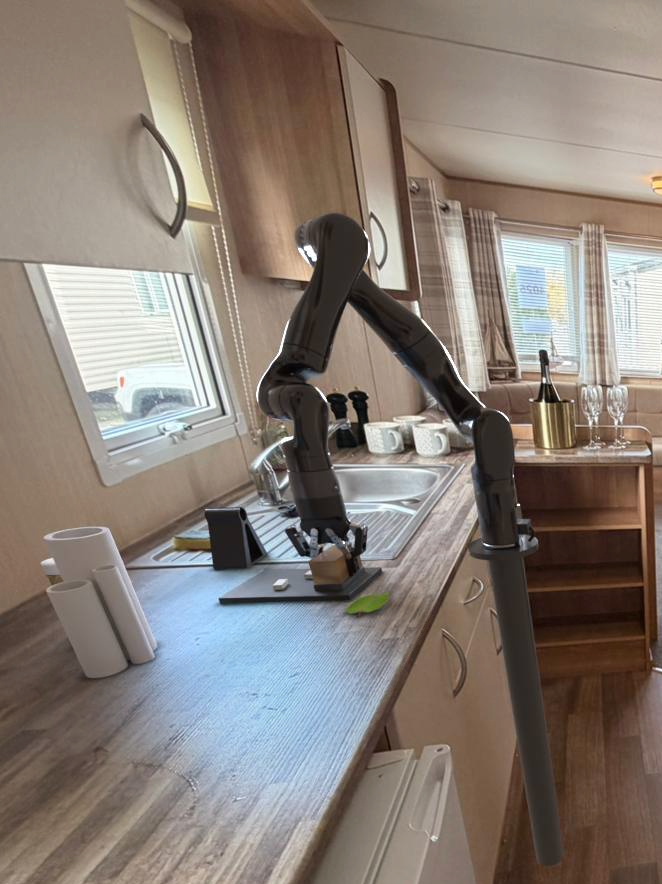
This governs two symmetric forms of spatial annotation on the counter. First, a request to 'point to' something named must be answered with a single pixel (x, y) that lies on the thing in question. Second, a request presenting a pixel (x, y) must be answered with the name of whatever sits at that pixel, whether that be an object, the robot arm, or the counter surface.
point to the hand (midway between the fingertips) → (339, 574)
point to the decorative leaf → (368, 603)
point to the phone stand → (232, 538)
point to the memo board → (293, 588)
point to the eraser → (332, 570)
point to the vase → (98, 602)
